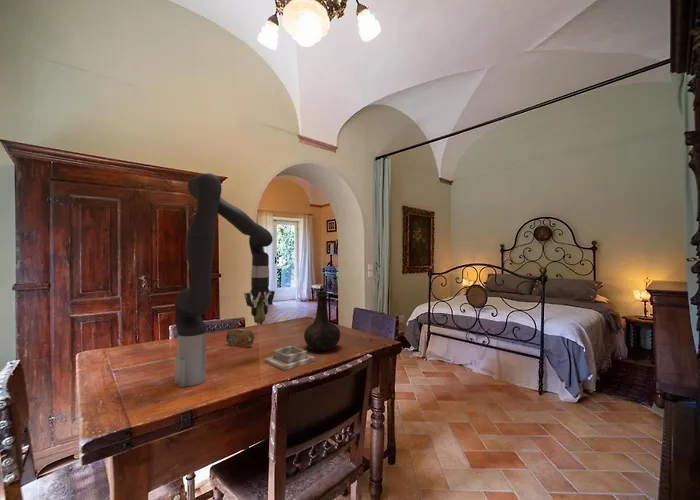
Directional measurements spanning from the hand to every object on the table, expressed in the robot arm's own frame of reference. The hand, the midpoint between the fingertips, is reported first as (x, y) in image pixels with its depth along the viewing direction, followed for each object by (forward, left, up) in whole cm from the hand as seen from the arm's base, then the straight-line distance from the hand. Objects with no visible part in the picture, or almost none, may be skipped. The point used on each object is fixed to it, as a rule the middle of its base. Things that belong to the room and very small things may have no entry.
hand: (259, 315), depth 134 cm
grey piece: (+8, -12, -19) cm, 24 cm away
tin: (+4, +24, -20) cm, 31 cm away
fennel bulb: (0, 0, -3) cm, 3 cm away
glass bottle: (+30, -8, -20) cm, 36 cm away
